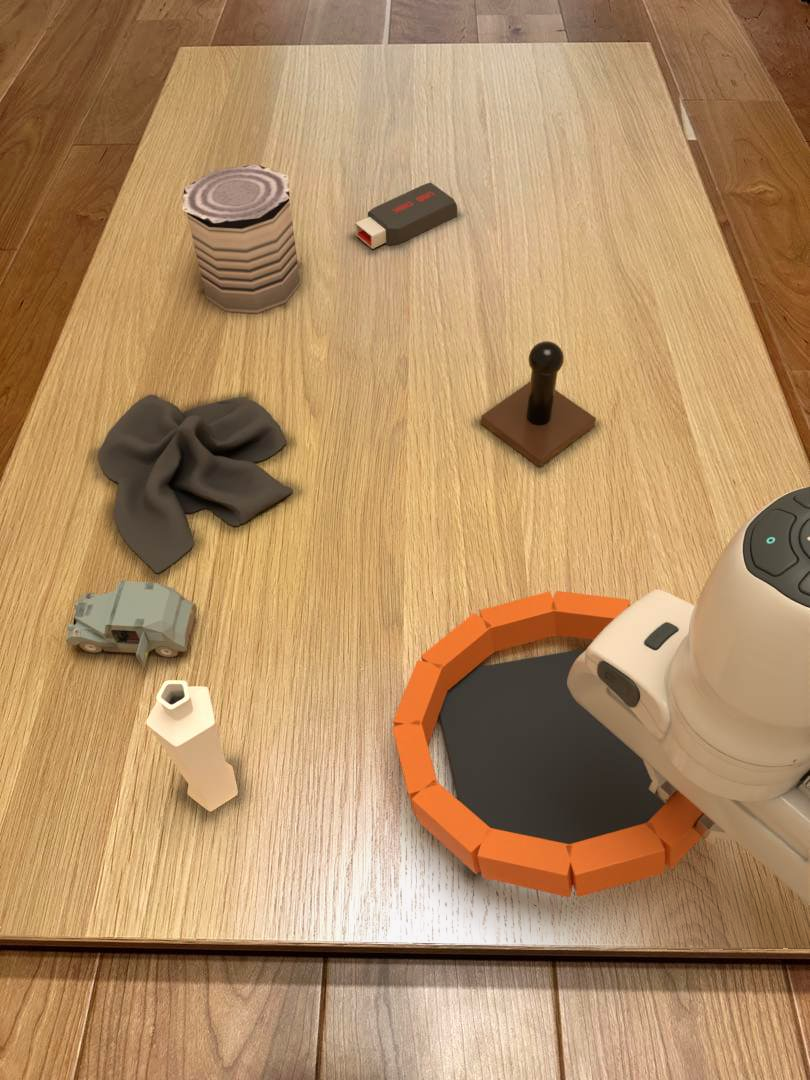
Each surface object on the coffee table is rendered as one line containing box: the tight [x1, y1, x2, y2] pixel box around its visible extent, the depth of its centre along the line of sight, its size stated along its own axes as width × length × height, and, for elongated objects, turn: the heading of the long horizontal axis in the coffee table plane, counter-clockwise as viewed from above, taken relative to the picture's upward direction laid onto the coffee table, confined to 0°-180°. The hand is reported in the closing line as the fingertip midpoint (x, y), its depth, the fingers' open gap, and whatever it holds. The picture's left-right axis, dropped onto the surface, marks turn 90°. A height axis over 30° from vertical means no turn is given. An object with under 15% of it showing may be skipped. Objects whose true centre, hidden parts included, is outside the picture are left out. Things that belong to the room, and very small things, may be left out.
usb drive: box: [354, 182, 458, 249], centre depth 116 cm, size 5×12×3 cm, turn 127°
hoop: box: [392, 590, 704, 898], centre depth 72 cm, size 24×24×3 cm
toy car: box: [65, 580, 198, 668], centre depth 81 cm, size 6×10×5 cm, turn 86°
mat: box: [438, 647, 665, 844], centre depth 76 cm, size 16×16×1 cm
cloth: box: [97, 394, 293, 574], centre depth 92 cm, size 22×19×6 cm
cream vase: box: [145, 679, 239, 812], centre depth 69 cm, size 5×4×15 cm
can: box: [182, 164, 301, 315], centre depth 107 cm, size 11×11×12 cm
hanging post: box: [480, 340, 597, 468], centre depth 93 cm, size 8×8×10 cm
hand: (686, 809), depth 65 cm, fingers closed on hoop, 2 cm apart
